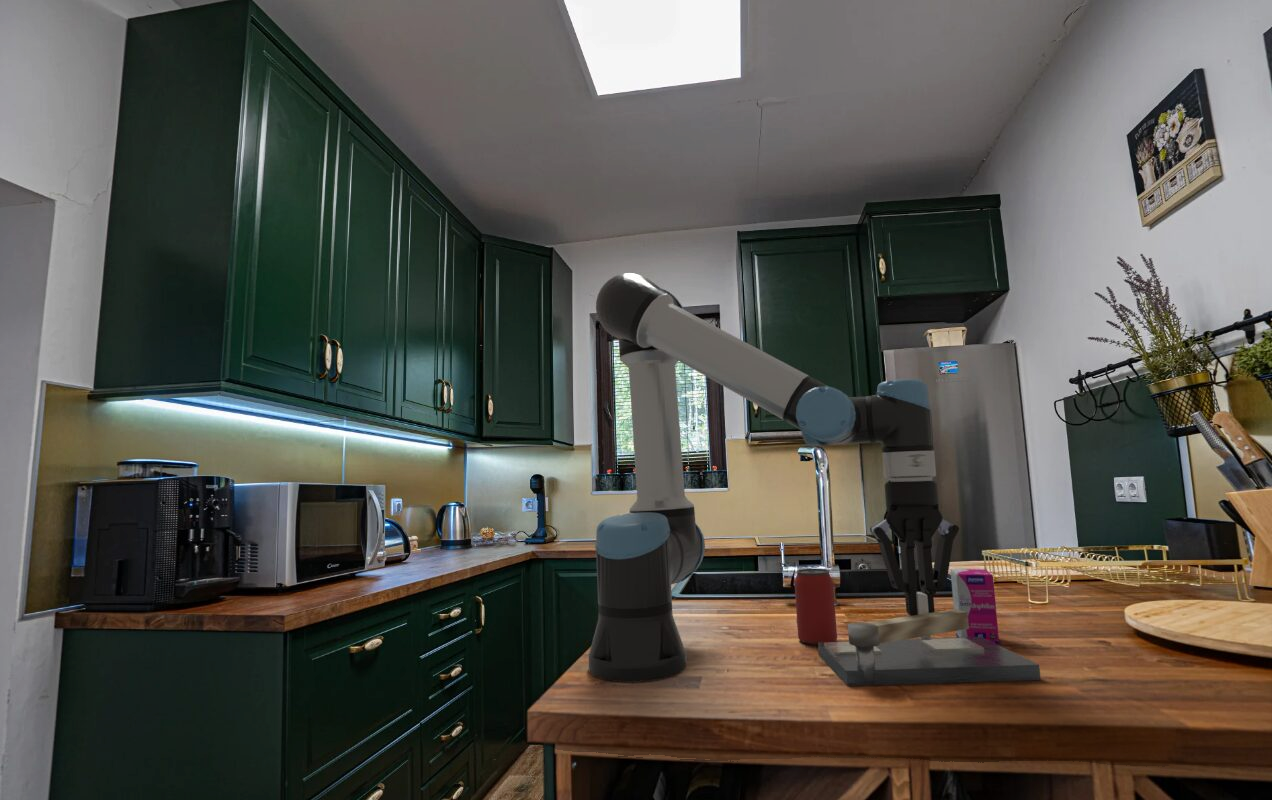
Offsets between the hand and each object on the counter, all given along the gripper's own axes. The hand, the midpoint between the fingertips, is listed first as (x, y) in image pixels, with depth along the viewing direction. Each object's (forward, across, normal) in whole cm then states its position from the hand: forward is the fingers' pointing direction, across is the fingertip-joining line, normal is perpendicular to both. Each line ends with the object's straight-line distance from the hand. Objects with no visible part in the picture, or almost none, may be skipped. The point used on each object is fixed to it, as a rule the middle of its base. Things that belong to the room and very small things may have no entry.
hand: (922, 637), depth 99 cm
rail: (-1, -4, -5) cm, 6 cm away
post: (+4, -11, -8) cm, 14 cm away
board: (+4, -1, -1) cm, 4 cm away
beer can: (+4, -12, +16) cm, 20 cm away
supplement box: (+4, +14, +13) cm, 19 cm away
